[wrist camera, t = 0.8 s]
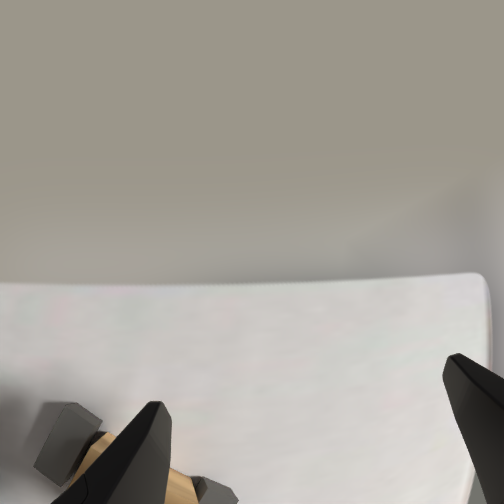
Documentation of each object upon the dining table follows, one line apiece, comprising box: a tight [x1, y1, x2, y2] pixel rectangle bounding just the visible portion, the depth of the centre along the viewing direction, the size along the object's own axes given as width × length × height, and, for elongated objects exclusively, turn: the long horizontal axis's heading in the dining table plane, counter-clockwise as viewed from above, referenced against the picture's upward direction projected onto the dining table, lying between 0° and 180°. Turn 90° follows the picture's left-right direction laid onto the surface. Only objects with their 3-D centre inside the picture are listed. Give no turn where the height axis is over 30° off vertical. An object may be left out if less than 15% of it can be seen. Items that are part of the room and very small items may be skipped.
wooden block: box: [68, 432, 199, 504], centre depth 13 cm, size 4×6×5 cm, turn 62°
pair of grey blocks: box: [33, 403, 239, 504], centre depth 14 cm, size 5×11×2 cm, turn 62°
